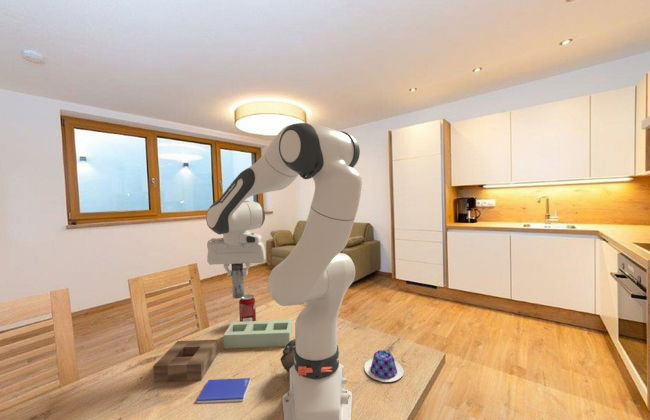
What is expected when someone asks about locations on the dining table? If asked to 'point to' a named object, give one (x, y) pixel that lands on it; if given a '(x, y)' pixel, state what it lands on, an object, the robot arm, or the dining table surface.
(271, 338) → the tool rack
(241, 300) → the soda can
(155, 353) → the dining table surface
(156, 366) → the socket block
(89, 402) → the dining table surface
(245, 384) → the blue book
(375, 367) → the pudding
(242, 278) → the salt shaker
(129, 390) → the dining table surface
